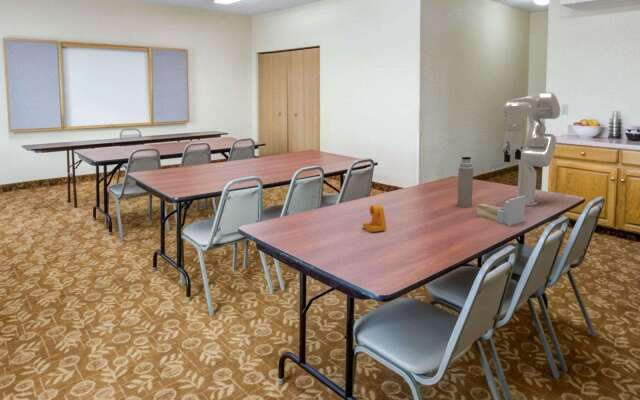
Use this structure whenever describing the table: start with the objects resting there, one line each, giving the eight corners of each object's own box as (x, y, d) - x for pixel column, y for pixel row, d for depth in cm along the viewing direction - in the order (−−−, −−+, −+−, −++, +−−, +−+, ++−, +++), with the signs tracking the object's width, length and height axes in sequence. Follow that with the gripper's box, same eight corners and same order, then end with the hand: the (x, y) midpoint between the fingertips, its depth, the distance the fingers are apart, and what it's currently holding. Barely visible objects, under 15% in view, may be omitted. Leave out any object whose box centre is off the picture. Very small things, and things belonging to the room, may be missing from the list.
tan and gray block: (481, 214, 265) (482, 203, 264) (509, 220, 252) (510, 208, 251) (476, 216, 262) (477, 204, 261) (504, 222, 250) (505, 210, 248)
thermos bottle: (470, 204, 289) (473, 156, 283) (472, 207, 281) (474, 158, 275) (456, 204, 291) (458, 156, 285) (457, 207, 283) (459, 158, 277)
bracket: (362, 228, 245) (362, 204, 242) (375, 226, 247) (375, 202, 245) (372, 233, 235) (373, 208, 232) (386, 231, 238) (386, 207, 235)
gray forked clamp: (494, 222, 249) (495, 197, 246) (509, 218, 257) (510, 193, 254) (509, 226, 243) (511, 199, 240) (524, 221, 251) (525, 196, 248)
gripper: (516, 125, 266) (515, 157, 270) (497, 129, 256) (496, 162, 260) (530, 126, 260) (528, 159, 264) (511, 130, 250) (509, 163, 254)
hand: (512, 160), depth 262 cm, fingers open, 9 cm apart
